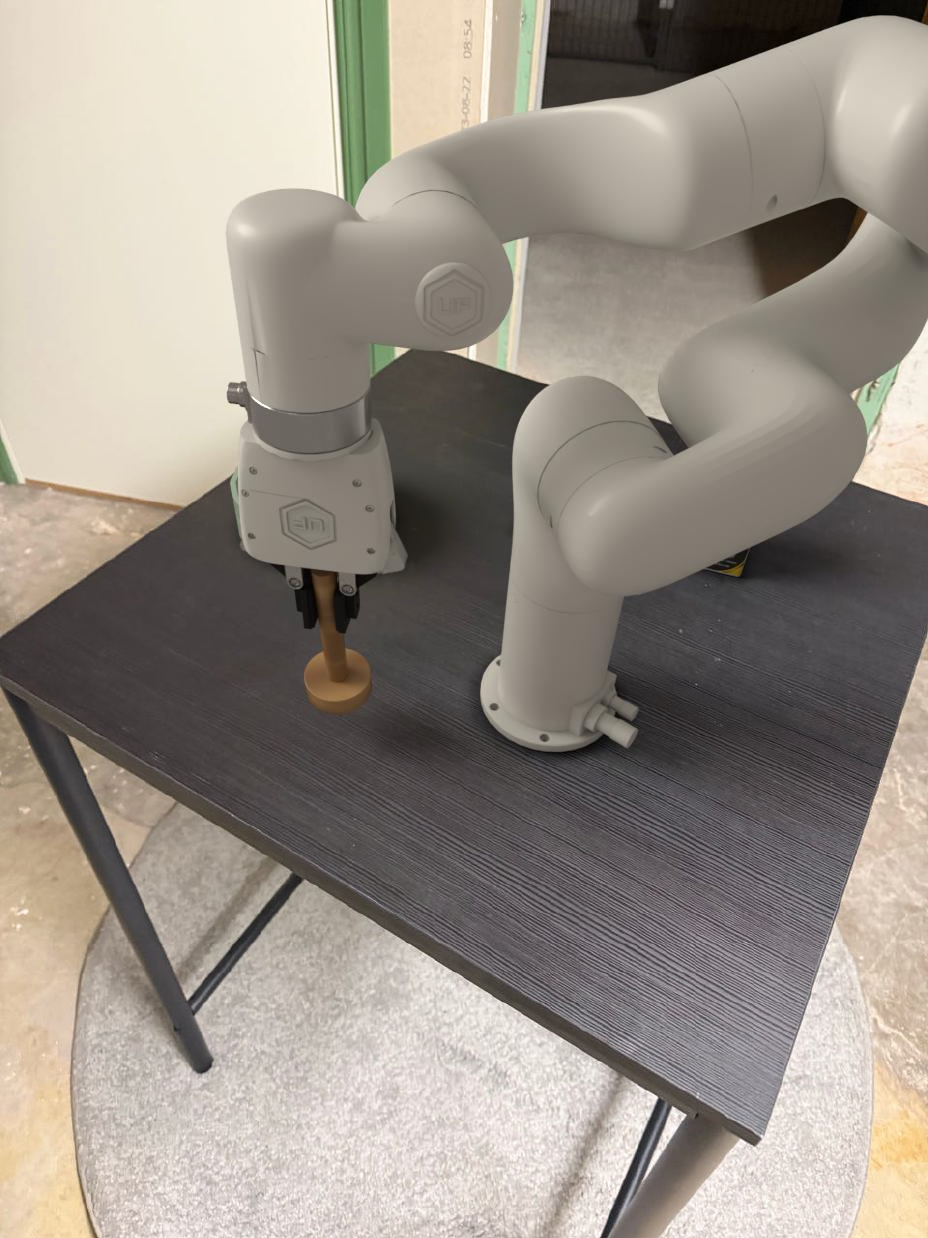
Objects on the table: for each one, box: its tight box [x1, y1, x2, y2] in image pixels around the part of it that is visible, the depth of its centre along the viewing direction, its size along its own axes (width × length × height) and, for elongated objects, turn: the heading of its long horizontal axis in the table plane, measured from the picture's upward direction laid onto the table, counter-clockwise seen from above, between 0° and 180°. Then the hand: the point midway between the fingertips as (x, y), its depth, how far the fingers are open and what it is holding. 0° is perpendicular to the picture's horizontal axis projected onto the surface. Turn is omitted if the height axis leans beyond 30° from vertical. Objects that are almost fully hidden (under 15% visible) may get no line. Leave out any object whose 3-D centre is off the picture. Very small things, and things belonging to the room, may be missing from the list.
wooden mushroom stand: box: [303, 569, 373, 715], centre depth 69 cm, size 6×6×15 cm
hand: (329, 617), depth 67 cm, fingers closed on wooden mushroom stand
